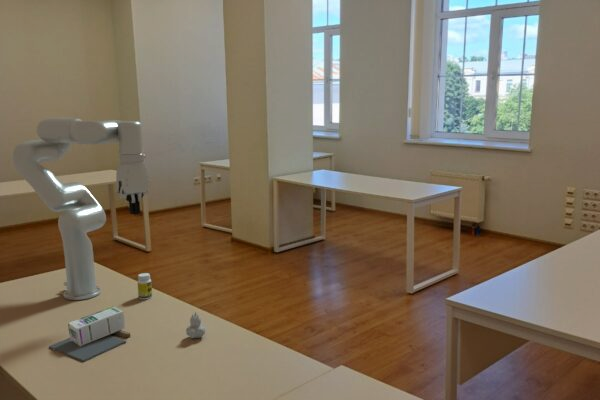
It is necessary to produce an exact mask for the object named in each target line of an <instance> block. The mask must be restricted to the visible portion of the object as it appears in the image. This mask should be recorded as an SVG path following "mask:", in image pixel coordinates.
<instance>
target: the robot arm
mask: <svg viewBox="0 0 600 400" xmlns="http://www.w3.org/2000/svg"><path fill="white" fill-rule="evenodd" d="M36 133H37V136H38V137H39V138H40V139H31V140H25V141H21V142H19V143H17V144H16V145H15V146H14V148H13V150H12V153H11V154H12V164H13V166H14V168H15V170H16V171H17V173H18V174H19V175H20V176H21V178H22V179H24V180H25V182H27V184H29V186H31V189H33V190H34V192H35V193H36V194H37V195H38V196H39V198H40V199H41V201H42V203H44V204H45V206H46V207H47V208H48V209H49V210H50V211H51V212H55V213H59V212H60V213H61V212H62V213H61V214H60V215H59V217H58V221H57V222H58V223H57V225H58V230H59V232H60V236H61V240H62V246H63V247H62V248H63V255H64V264H65V275H66V277H65V278H66V281H64V283H63V286H65V287H66V290H65V291H64V292H63V293H62V294H63V298H64V299H66V300H69V301H70V300H71V301H80V300H81V301H82V300H88V299H91V298H94V297H97V296H98V295H100V294H101V291H102V288H101V287H99V286H97V283H96V282H97V281H96V273H95V262H94V261H95V259H94V250H93V247H94V246H93V243H92V240H91V239H90V238H89V236H88V235H87V233H89V232H94V231H96V230H98V229H101V228H102V227H104V225H105V224H106V222H107V215H106V212H105V210H104V208H103V207H102V205H101V204H100V203H99V201H98V200H97V199H96V198H95V196H93V194H92V193H91V192H90V190H89V189H88V188H87V186H85V185H84V184H82V183H79V182H76V181H71V182H70V181H69V182H66V183H65V182H64V183H63V182H61V181H60V180H59V179H58V178H57V176H56V175H55V174H54V173H53V172H52V171H51V170H50V169H48V168H46V167H44V166H43V165H41V164H45V163H52V162H56V161H59V160H61V159H62V158H63V157H64V156H65V154H66V153H67V152H68V150H69V149H70V148H71V147H72V145H73V144H76V145H92V146H93V145H94V146H96V145H97V146H98V145H105V144H106V145H107V144H115V143H118V150H119V151H118V154H119V163H118V164H117V168H116V176H115V179H116V180H115V188H116V193H117V194H118V197H119V199H125V200H126V201H127V203H128V205H129V209H128V210H129V213H130V214H131V215H134V216H136V215H139V214H140V215H141V206H140V203H141V202H142V198H143V197H144V196H146V195H148V194H149V188H150V187H149V186H150V185H149V184H150V183H149V174H148V173H149V172H148V169H147V168H148V167H147V164H146V162H145V160H144V159H146V158H147V156H146V154H145V153H144V144H143V143H144V141H143V139H144V138H143V125H142V123H141V122H140V121H137V120H119V119H108V120H107V119H106V120H94V121H93V120H87V121H86V120H84V121H83V120H82V119H80V118H78V117H77V118H76V117H75V118H74V117H73V118H72V117H66V116H65V117H48V118H44V119H43V120H41V121H39V123H38V124H37V125H36ZM130 214H129V215H130Z"/></svg>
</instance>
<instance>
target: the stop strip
mask: <svg viewBox="0 0 600 400" xmlns="http://www.w3.org/2000/svg"><path fill="white" fill-rule="evenodd" d="M113 334H114V335H117V336H120V337H123V338H126V339H129V338H131V333H130V332H128V331H125V330H123V329H122V330H119V331H117V332H114V333H113Z"/></svg>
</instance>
